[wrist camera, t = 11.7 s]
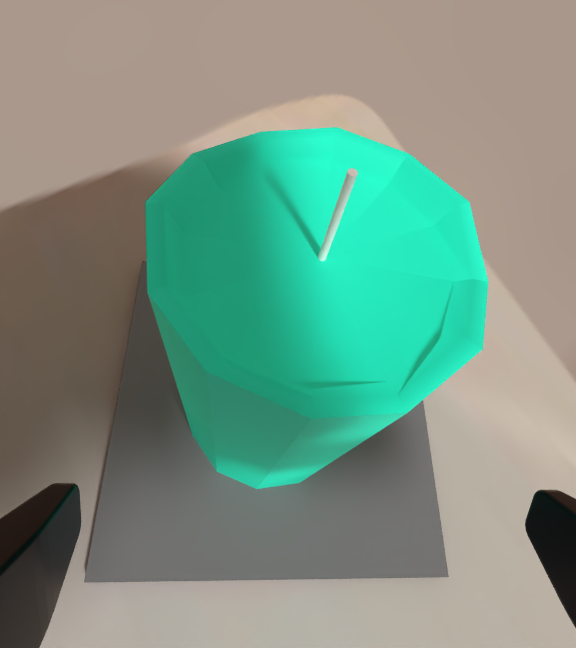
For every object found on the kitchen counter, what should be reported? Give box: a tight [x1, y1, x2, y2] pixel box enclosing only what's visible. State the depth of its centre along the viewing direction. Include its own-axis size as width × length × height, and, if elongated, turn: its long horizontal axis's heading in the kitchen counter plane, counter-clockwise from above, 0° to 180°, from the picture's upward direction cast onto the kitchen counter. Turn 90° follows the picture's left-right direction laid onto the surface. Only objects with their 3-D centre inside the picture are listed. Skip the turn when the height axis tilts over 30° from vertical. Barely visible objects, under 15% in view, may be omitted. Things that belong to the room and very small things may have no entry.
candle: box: [145, 127, 488, 489], centre depth 11 cm, size 6×6×12 cm
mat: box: [84, 261, 448, 582], centre depth 17 cm, size 12×12×1 cm
